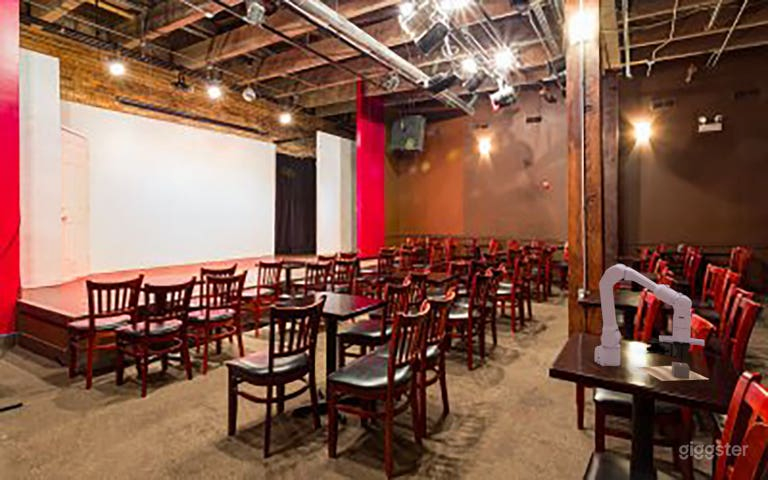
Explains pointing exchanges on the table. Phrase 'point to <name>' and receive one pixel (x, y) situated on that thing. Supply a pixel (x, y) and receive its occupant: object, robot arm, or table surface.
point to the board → (668, 373)
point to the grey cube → (680, 370)
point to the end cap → (661, 348)
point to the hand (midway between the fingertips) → (680, 361)
